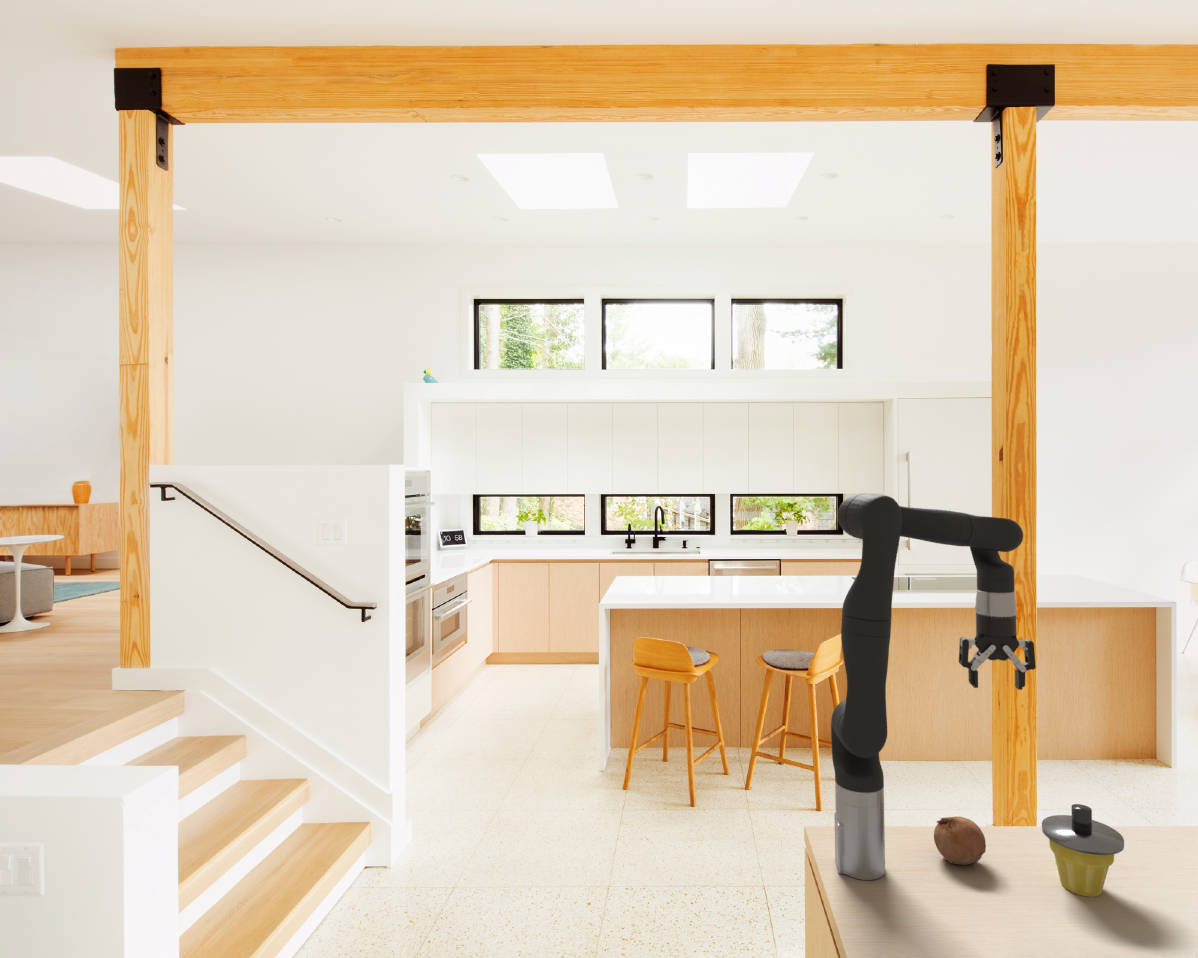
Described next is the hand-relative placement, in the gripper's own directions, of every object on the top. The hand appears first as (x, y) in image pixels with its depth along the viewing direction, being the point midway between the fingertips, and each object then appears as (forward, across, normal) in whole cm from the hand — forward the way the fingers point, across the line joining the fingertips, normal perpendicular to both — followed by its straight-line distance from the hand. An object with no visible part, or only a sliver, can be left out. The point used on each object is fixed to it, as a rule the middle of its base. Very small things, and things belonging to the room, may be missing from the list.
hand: (996, 687), depth 155 cm
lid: (+23, +10, -15) cm, 30 cm away
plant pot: (+33, +10, -15) cm, 38 cm away
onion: (+33, -10, -9) cm, 36 cm away
